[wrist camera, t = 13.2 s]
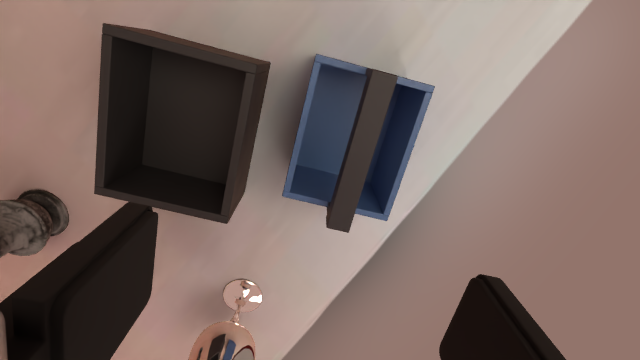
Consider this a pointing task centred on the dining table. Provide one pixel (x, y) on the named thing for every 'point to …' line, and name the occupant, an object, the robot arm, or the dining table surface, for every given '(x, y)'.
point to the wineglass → (230, 327)
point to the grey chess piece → (30, 222)
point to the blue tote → (354, 140)
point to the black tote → (176, 122)
